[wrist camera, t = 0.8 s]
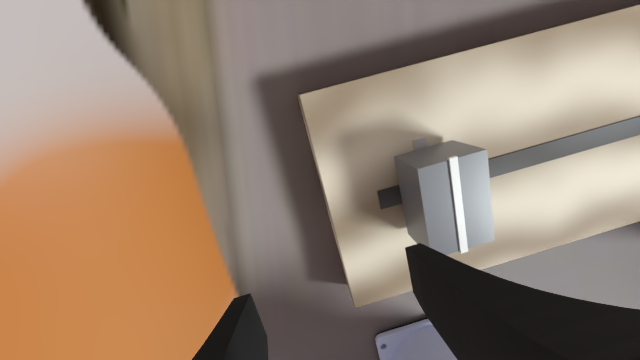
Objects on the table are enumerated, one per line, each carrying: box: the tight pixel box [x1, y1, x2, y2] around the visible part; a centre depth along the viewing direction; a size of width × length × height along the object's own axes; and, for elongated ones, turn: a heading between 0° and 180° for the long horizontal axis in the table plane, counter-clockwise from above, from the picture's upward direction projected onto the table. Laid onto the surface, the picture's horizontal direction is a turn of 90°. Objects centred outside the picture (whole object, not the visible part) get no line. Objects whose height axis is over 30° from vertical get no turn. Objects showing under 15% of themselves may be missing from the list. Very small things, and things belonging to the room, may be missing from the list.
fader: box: [394, 140, 495, 255], centre depth 16 cm, size 5×4×3 cm
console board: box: [297, 4, 640, 308], centre depth 20 cm, size 14×26×3 cm, turn 104°
